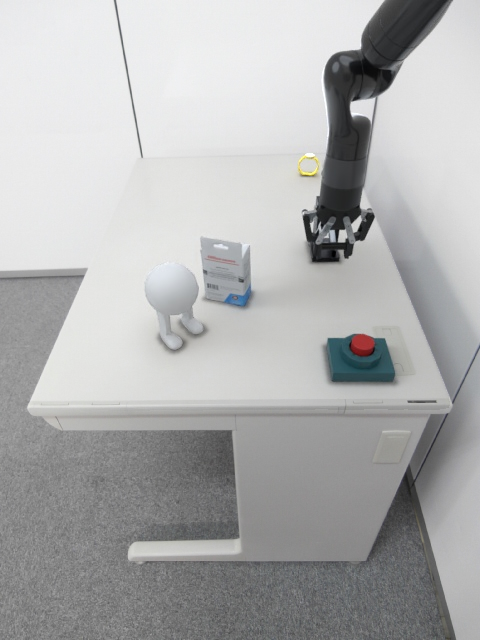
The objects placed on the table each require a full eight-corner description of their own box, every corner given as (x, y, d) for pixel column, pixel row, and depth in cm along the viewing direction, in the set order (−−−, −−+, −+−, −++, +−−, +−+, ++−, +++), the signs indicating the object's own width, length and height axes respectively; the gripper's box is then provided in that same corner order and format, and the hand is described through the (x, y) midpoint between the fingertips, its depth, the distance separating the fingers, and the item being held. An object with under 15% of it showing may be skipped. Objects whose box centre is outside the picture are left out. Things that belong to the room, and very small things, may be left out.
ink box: (252, 291, 91) (251, 229, 81) (244, 307, 87) (242, 244, 77) (213, 284, 93) (208, 222, 83) (204, 299, 89) (198, 236, 79)
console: (382, 346, 78) (387, 330, 76) (392, 381, 73) (398, 365, 70) (326, 346, 79) (328, 330, 76) (331, 381, 73) (334, 365, 70)
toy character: (176, 357, 78) (164, 291, 68) (144, 333, 82) (129, 268, 72) (213, 331, 82) (207, 265, 72) (181, 309, 87) (171, 245, 77)
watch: (297, 176, 130) (298, 156, 125) (297, 172, 132) (299, 152, 127) (317, 177, 129) (319, 157, 125) (318, 173, 131) (319, 153, 127)
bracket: (339, 261, 98) (347, 209, 89) (312, 262, 98) (317, 210, 89) (333, 242, 103) (341, 191, 95) (308, 242, 104) (313, 191, 95)
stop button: (370, 341, 75) (372, 334, 73) (374, 357, 72) (376, 349, 71) (349, 341, 75) (350, 333, 73) (352, 357, 72) (354, 349, 71)
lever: (345, 252, 89) (347, 245, 87) (320, 253, 89) (321, 245, 87) (338, 207, 95) (340, 199, 93) (315, 207, 95) (317, 199, 93)
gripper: (304, 188, 76) (298, 268, 88) (388, 186, 76) (371, 267, 87) (300, 169, 82) (295, 247, 93) (378, 168, 81) (363, 246, 93)
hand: (332, 256), depth 90 cm, fingers closed on lever, 5 cm apart
